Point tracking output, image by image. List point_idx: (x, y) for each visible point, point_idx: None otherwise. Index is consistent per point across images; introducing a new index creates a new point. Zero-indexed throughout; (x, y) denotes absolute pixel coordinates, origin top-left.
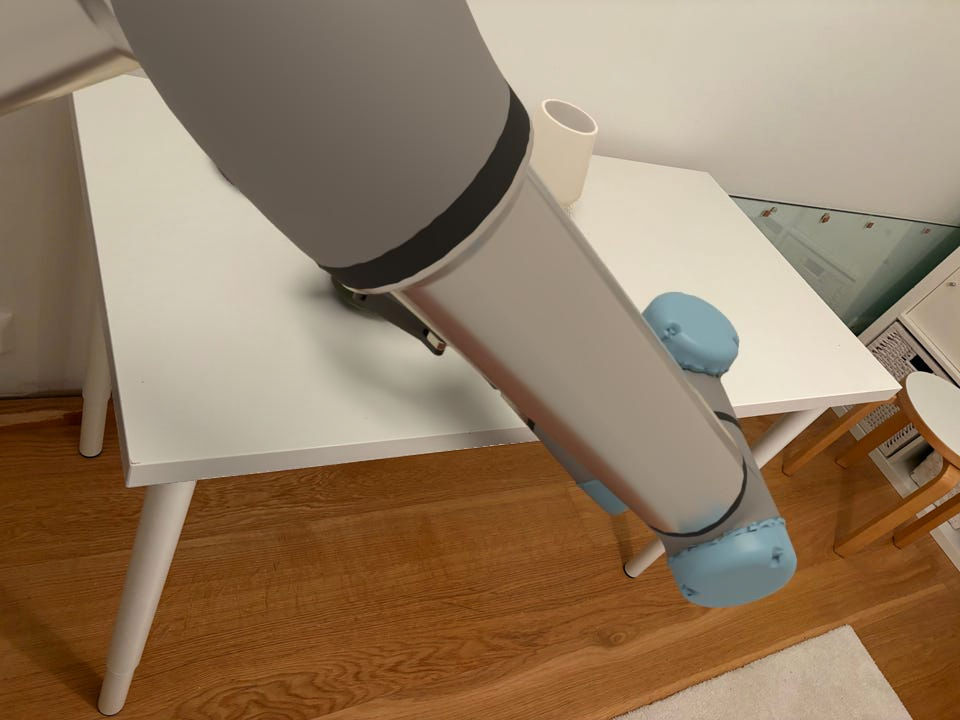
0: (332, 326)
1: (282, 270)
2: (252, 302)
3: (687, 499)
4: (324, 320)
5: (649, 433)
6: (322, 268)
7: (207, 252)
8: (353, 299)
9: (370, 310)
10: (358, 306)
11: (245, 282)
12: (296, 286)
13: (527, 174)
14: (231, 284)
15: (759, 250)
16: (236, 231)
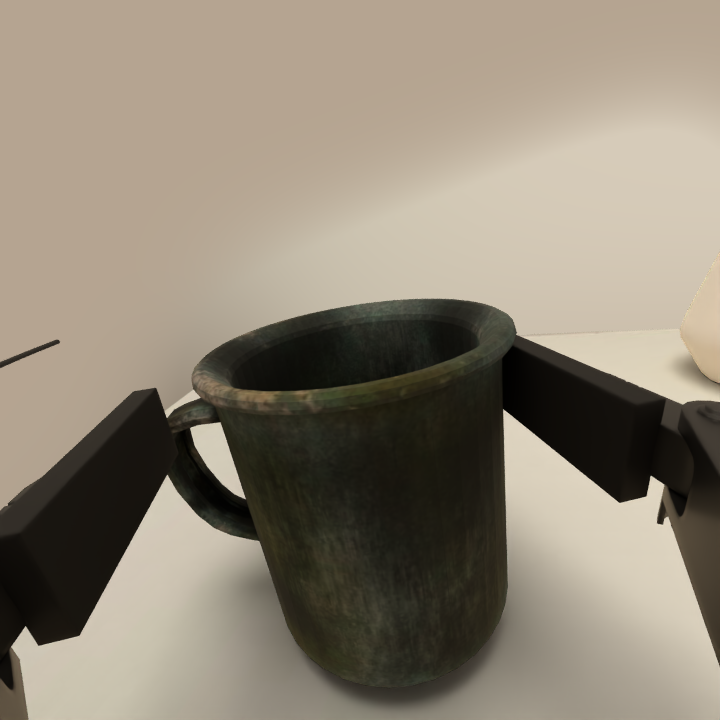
0: (217, 705)
1: None
2: (121, 599)
3: None
4: (215, 675)
5: None
6: (218, 529)
7: (163, 495)
8: (286, 619)
9: (320, 665)
10: (298, 643)
11: (158, 550)
12: (235, 562)
13: None
14: (132, 554)
15: None
16: (233, 463)
